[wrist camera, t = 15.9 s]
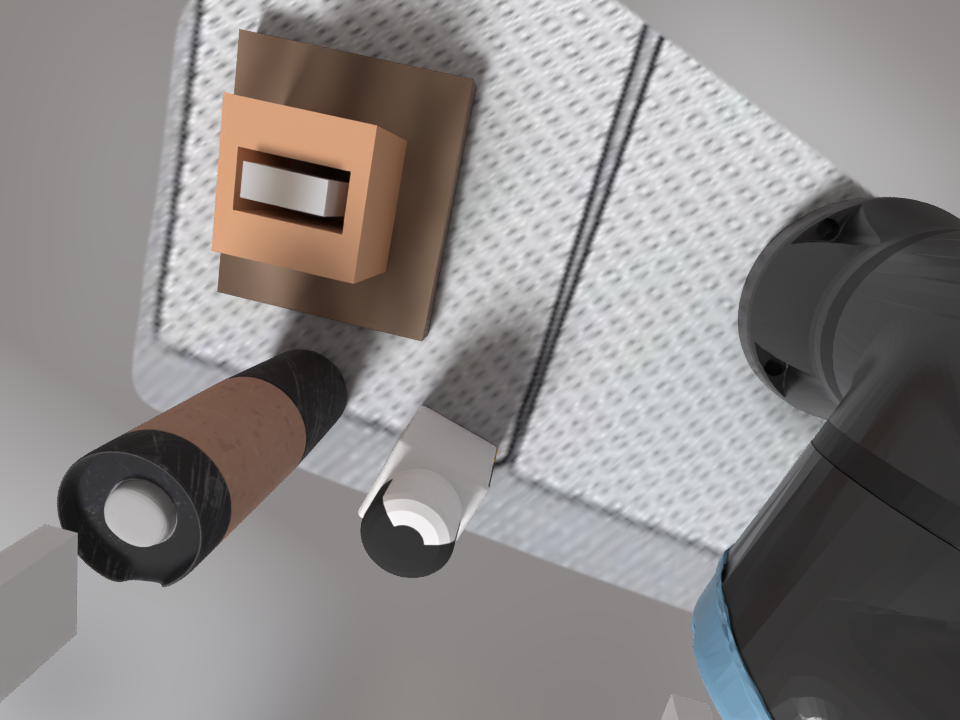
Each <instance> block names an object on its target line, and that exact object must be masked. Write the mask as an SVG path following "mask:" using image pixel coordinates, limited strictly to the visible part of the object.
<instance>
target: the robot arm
mask: <svg viewBox="0 0 960 720" xmlns="http://www.w3.org/2000/svg"><path fill="white" fill-rule="evenodd" d="M738 330H739V337H740V342H741V345H742V349H743V352H744V354H745V357H746V359H747V361H748V363H749V365H750V366H751V368H752V369H753V371H754V372H755V374H756V375H757V376H758V378H759V379H760V380H761V381H762V382H763V383H764V384H765V385H766V386H767V387H768V388H769V389H771V390H772V391H773V392H774V393H776V394H777V395H778V396H779V397H781V398H782V399H783V400H785V401H786V402H788V403H789V404H791V405H792V406H794V407H796V408H798V409H800V410H802V411H804V412H806V413H809V414H811V415H814V416H817V417H820V418H824V419H828V420H827V421H826V423H825V424H824V425H823V427H822V428H821V429H820V431H819V432H818V434H817V435H816V436H815V438H814V439H813V440H811V442H810V443H809V444H808V446H807V447H806V449H805V450H804V451H803V453H802V454H801V455H800V457H799V458H798V460H797V461H796V462H795V464H794V465H793V466H792V468H791V469H790V471H789V472H788V473H787V475H786V476H785V477H784V479H783V480H782V482H781V483H780V484H779V486H778V487H777V488H776V490H775V491H774V493H773V494H772V495H771V497H770V498H769V499H768V501H767V502H766V503H765V505H764V506H763V507H762V509H761V510H760V511H759V513H758V514H757V515H756V517H755V518H754V519H753V520H752V522H751V523H750V524H749V526H748V527H747V528H746V530H745V531H744V532H743V534H742V535H741V536H740V538H739V539H738V540H737V541H736V543H734V544H733V545H731V546H730V547H729V548H728V549H727V550H726V551H725V552H724V554H723V555H722V556H721V558H720V560H719V563H718V566H717V569H716V573H715V575H714V576H713V578H712V579H711V581H710V582H709V584H708V585H707V587H706V588H705V590H704V591H703V593H702V594H701V596H700V598H699V599H698V601H697V604H696V606H695V609H694V612H693V617H692V631H693V636H694V639H693V641H694V643H693V649H694V654H695V658H696V662H697V665H698V668H699V671H700V674H701V677H702V679H703V682H704V684H705V686H706V689H707V691H708V693H709V695H710V697H711V699H712V701H713V703H714V705H715V707H716V708H717V710H718V712H719V714H720V715H721V717H722V719H723V720H960V219H959V218H957V217H956V216H954V215H952V214H951V213H949V212H947V211H945V210H943V209H941V208H939V207H936V206H934V205H931V204H928V203H924V202H920V201H917V200H912V199H906V198H896V197H878V198H859V199H851V200H846V201H841V202H837V203H834V204H831V205H828V206H825V207H822V208H820V209H817V210H815V211H813V212H811V213H809V214H807V215H805V216H804V217H802V218H800V219H799V220H797V221H796V222H794V223H792V224H791V225H790V226H788V227H787V228H786V229H785V230H783V231H782V232H781V233H780V234H779V235H778V236H777V237H776V238H775V239H774V240H773V241H772V242H771V243H770V244H769V245H768V246H767V247H766V248H765V250H764V251H763V252H762V254H761V255H760V256H759V258H758V259H757V261H756V262H755V264H754V266H753V267H752V269H751V271H750V273H749V275H748V277H747V280H746V282H745V285H744V287H743V291H742V294H741V298H740V303H739V311H738ZM77 552H78V533H76V532H72V531H68V530H65V529H61V528H57V527H53V526H50V525H46V524H45V525H43V526H42V527H40V528H38V529H37V530H35V531H34V532H32V533H31V534H29V535H27V536H26V537H24V538H22V539H21V540H19V541H18V542H16V543H14V544H13V545H11V546H10V547H8V548H6V549H5V550H3V551H1V552H0V702H1V701H2V700H4V699H5V697H7V696H8V695H9V694H10V693H11V692H12V691H14V690H15V689H16V688H17V687H18V686H19V685H20V684H21V683H22V682H24V681H25V680H26V679H27V678H28V677H29V676H30V675H31V674H32V673H34V672H35V671H36V670H37V669H38V668H39V667H40V666H41V665H43V663H45V662H46V661H47V660H48V659H49V658H50V657H51V656H53V655H54V654H55V653H56V652H57V651H58V650H59V649H60V648H61V647H63V646H64V645H65V644H66V643H67V642H68V641H69V640H70V639H71V638H73V637H74V636H75V635H76V624H77ZM661 720H714V719H713V716H712V713H711V710H710V707H709V704H708V703H704V702H700V701H697V700H693V699H689V698H686V697H682V696H678V695H675V694H671V697H670V699H669V702H668V704H667V707H666V709H665V712H664V714H663V717H662V719H661Z"/></svg>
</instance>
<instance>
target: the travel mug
mask: <svg viewBox="0 0 960 720" xmlns="http://www.w3.org/2000/svg"><path fill="white" fill-rule="evenodd" d="M346 395H347V394H346V386H345V383H344V380H343V377H342V375H341V374H340V372H339V370H338V369H337V368H336V367H335V365H334V364H333V363H332V362H331V361H329V360H328V359H327V358H325V357H324V356H322V355H320V354H318V353H315V352H312V351H308V350H292V351H288V352H285V353H282V354H280V355H278V356H275V357H273V358H271V359H269V360H267V361H264V362H262V363H260V364H258V365H256V366H254V367H251V368H249V369H247V370H245V371H243V372H241V373H238V374H236V375H234V376H232V377H230V378H228V379H225V380H223V381H221V382H219V383H217V384H215V385H213V386H212V387H210V388H208V389H206V390H204V391H202V392H201V393H199V394H197V395H195V396H193V397H191V398H189V399H188V400H186V401H184V402H182V403H180V404H178V405H176V406H175V407H173V408H171V409H169V410H167V411H165V412H164V413H162V414H160V415H158V416H156V417H154V418H153V419H151V420H149V421H147V422H145V423H143V424H141V425H140V426H138V427H136V428H134V429H132V430H130V431H128V432H127V433H125V434H123V435H121V436H119V437H117V438H116V439H114V440H112V441H110V442H108V443H106V444H104V445H102V446H101V447H99V448H97V449H95V450H93V451H91V452H90V453H88V454H86V455H85V456H83V457H82V458H80V459H79V460H78V461H77V462H75V463H74V464H73V465H72V466H71V467H70V468H69V470H68V471H67V472H66V474H65V476H64V477H63V480H62V481H61V485H60V487H59V491H58V497H57V508H58V516H59V520H60V524H61V527H62V529H65V530H68V531H72V532H76V533H78V552H77V554H78V555H79V557H80V558H81V559H82V560H83V561H84V562H85V563H86V564H87V565H88V566H90V567H91V568H92V569H93V570H95V571H96V572H97V573H99V574H100V575H102V576H104V577H105V578H107V579H110V580H112V581H117V582H123V581H127V580H142V581H151V582H157V583H160V584H161V585H162V587H167V586H170V585H172V584H174V583H176V582H178V581H179V580H181V579H182V578H184V577H185V576H186V575H188V574H189V573H190V572H191V571H192V570H193V569H194V568H195V567H196V566H197V565H198V564H199V563H200V562H201V561H202V560H203V559H204V558H205V557H206V556H207V555H208V554H210V553H211V552H212V550H214V548H215V547H216V546H217V545H218V544H220V543H221V542H222V541H223V539H225V538H226V537H227V536H228V535H229V534H230V533H231V532H232V531H233V530H234V529H235V528H236V527H237V526H238V525H239V524H240V523H241V522H242V521H243V520H244V519H245V518H246V517H247V516H248V515H249V514H250V513H251V512H252V511H253V510H254V509H255V508H256V507H257V506H258V505H259V504H260V503H261V502H262V501H263V500H264V499H265V498H266V497H267V496H268V495H269V494H270V493H271V492H272V491H273V490H274V489H275V488H276V487H277V486H278V485H279V484H280V483H281V482H282V481H283V480H284V479H285V478H286V477H287V476H288V475H289V474H290V473H291V472H292V471H293V470H294V469H295V468H296V467H297V466H298V465H299V464H300V463H301V461H302V460H303V459H304V458H305V457H306V456H307V455H308V454H309V452H310V451H311V450H312V449H313V448H314V447H315V446H316V444H317V443H318V442H319V441H320V440H321V439H322V438H323V437H324V435H325V434H326V433H327V432H328V431H329V430H330V429H331V428H332V426H333V425H334V424H335V423H336V422H337V420H338V419H339V418H340V416H341V415H342V413H343V411H344V408H345V404H346Z"/></svg>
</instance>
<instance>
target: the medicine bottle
mask: <svg viewBox="0 0 960 720" xmlns="http://www.w3.org/2000/svg"><path fill="white" fill-rule="evenodd" d="M496 453H497V448H496V447H495V446H494V445H492V444H490V443H489V442H487V441H485V440H483V439H482V438H480V437H478V436H476V435H475V434H473V433H471V432H469V431H468V430H466V429H464V428H462V427H461V426H459V425H457V424H455V423H454V422H452V421H450V420H448V419H447V418H445V417H443V416H441V415H440V414H438V413H436V412H434V411H433V410H431V409H429V408H427V407H426V406H421V407H420V408H419V409H418V411H417V412H416V414H415V415H414V417H413V418H412V420H411V421H410V423H409V424H408V426H407V428H406V429H405V431H404V432H403V434H402V435H401V437H400V438H399V440H398V442H397V443H396V445H395V447H394V449H393V450H392V452H391V454H390V456H389V458H388V459H387V461H386V463H385V465H384V466H383V468H382V470H381V472H380V474H379V475H378V477H377V479H376V481H375V482H374V484H373V486H372V488H371V489H370V491H369V493H368V495H367V497H366V498H365V500H364V502H363V504H362V505H361V507H360V509H359V512H358V513H359V516H360V517H362V518H363V519H362V522H361V539H362V543H363V545H364V548H365V550H366V552H367V553H368V555H369V556H370V558H371V559H372V560H373V561H374V562H375V563H376V564H377V565H378V566H380V567H381V568H382V569H384V570H385V571H387V572H389V573H392V574H394V575H397V576H401V577H407V578H418V577H424V576H428V575H430V574H432V573H435V572H436V571H438V570H439V569H441V568H442V567H443V566H444V565H445V564H446V563H447V562H448V560H449V558H450V556H451V555H452V552H453V549H454V545H455V542H456V541H457V539H458V537H459V536H460V534H461V532H462V531H463V530H464V528H465V527H466V525H467V524H468V522H469V520H470V519H471V517H472V516H473V514H474V513H475V511H476V510H477V508H478V506H479V505H480V503H481V502H482V500H483V499H484V497H485V496H486V494H487V492H488V491H489V487H490V482H491V477H492V473H493V468H494V463H495V458H496Z"/></svg>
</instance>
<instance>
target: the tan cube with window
mask: <svg viewBox="0 0 960 720" xmlns="http://www.w3.org/2000/svg"><path fill="white" fill-rule="evenodd" d="M406 146H407V141H406V140H404V139H402V138H400V137H398V136H397V135H395V134H393V133H391V132H389V131H387V130H385V129H383V128H381V127H379V126H377V125H372V124H368V123H363V122H358V121H354V120H349V119H345V118H340V117H335V116H331V115H326V114H321V113H317V112H312V111H308V110H303V109H298V108H294V107H289V106H285V105H280V104H275V103H271V102H266V101H261V100H257V99H252V98H248V97H243V96H238V95H234V94H229V93H225V92H224V94H223V107H222V121H221V134H220V147H219V161H218V174H217V187H216V201H215V214H214V227H213V241H212V251H215V252H219V253H224V254H228V255H232V256H236V257H241V258H245V259H249V260H254V261H258V262H262V263H266V264H271V265H275V266H279V267H284V268H288V269H292V270H296V271H301V272H305V273H309V274H314V275H318V276H322V277H326V278H331V279H335V280H339V281H344V282H348V283H352V284H354V283H357V282H360V281H362V280H365V279H368V278H370V277H373V276H376V275H378V274H381V273H384V272H386V268H387V262H388V256H389V250H390V244H391V238H392V232H393V226H394V219H395V213H396V207H397V201H398V195H399V189H400V183H401V177H402V171H403V165H404V159H405V152H406ZM291 158H292V159H297V160H301V161H306V162H310V163H315V164H319V165H324V166H328V167H333V168H337V169H342V170H346V171H351V175H350V182H349V190H348V197H347V204H346V211H345V218H344V223H340V222H336V221H332V220H327V219H323V218H318V217H314V216H310V215H305V214H301V213H296V212H292V211H288V210H286V208H285V207H280V206H276V205H272V204H267V203H263V202H259V201H254V200H250V199H246V198H241V197H240V192H241V181H242V170H243V161H247V162H253V163H259V164H265V165H271V166H276V167H282V168H288V169H290V167H291Z"/></svg>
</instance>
